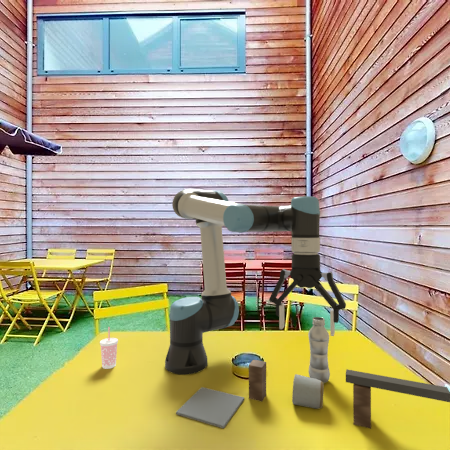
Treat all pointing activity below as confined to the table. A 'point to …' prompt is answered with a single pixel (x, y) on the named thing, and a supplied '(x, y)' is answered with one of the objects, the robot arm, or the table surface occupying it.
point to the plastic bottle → (319, 350)
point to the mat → (211, 407)
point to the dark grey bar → (398, 385)
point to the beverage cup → (108, 351)
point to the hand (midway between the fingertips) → (306, 331)
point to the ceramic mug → (307, 392)
